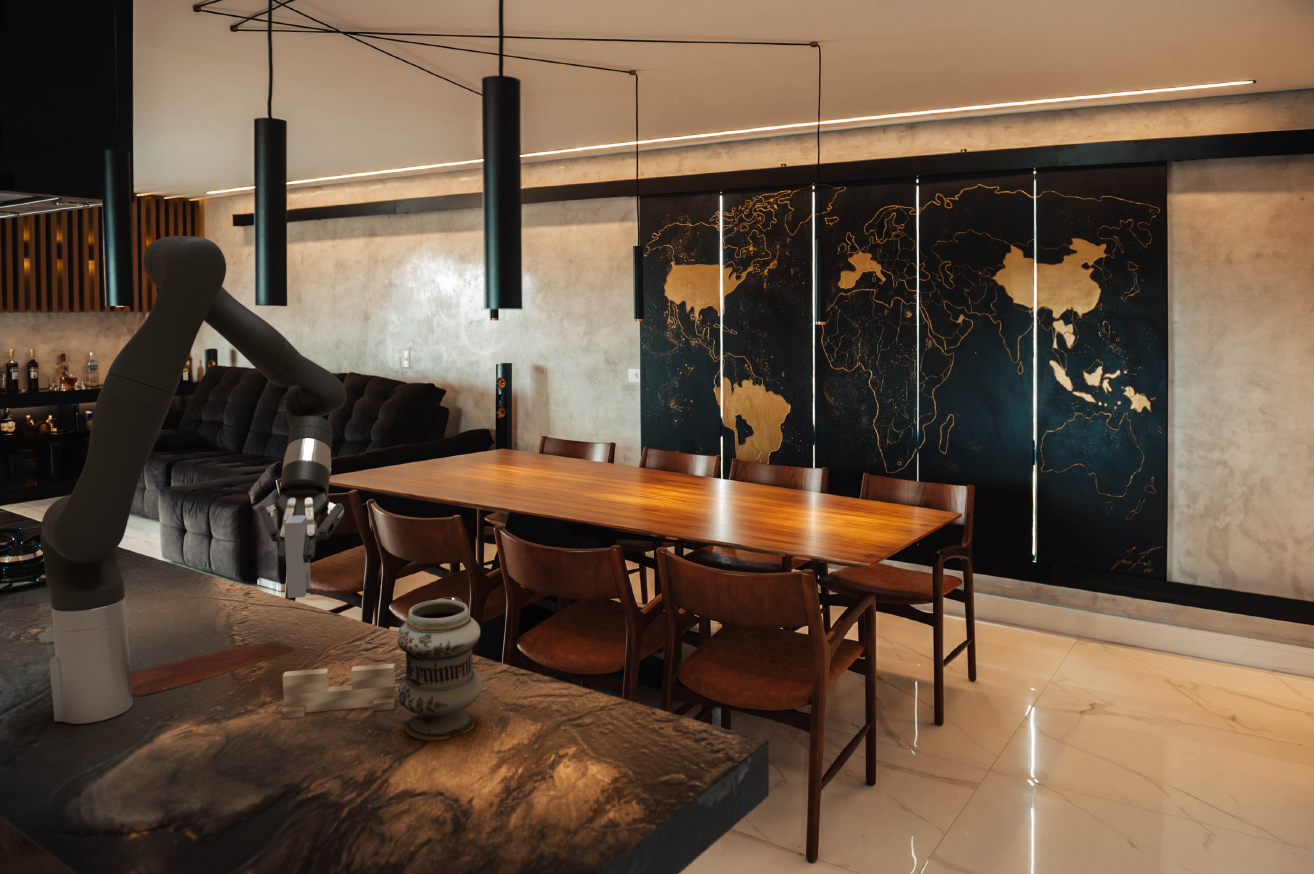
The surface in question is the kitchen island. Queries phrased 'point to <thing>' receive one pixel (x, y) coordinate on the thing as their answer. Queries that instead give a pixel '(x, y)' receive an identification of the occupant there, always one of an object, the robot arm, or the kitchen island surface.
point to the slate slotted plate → (296, 557)
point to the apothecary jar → (439, 669)
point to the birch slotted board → (338, 690)
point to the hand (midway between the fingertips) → (295, 560)
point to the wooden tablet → (203, 667)
